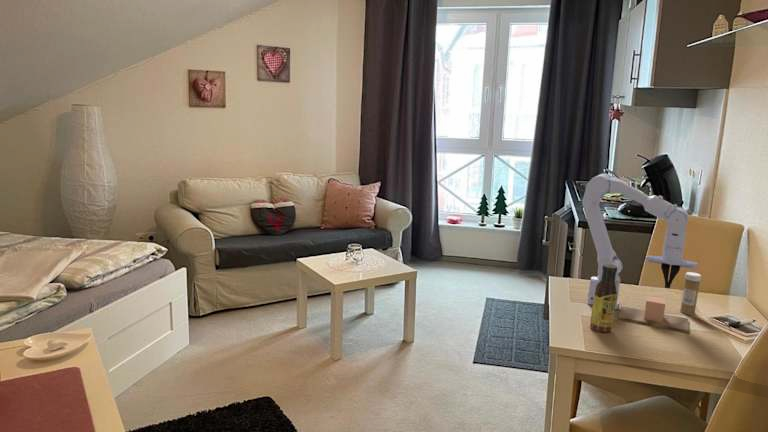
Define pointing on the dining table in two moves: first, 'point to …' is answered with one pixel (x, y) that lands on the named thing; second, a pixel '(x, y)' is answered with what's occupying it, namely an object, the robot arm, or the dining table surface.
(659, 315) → the pink block
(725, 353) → the dining table surface
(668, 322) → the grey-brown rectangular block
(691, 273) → the sprinkles bottle
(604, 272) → the sauce bottle
